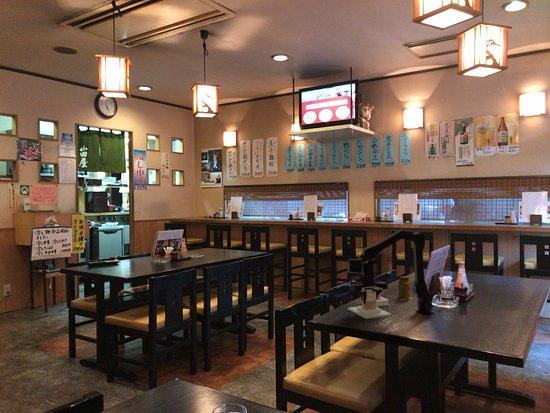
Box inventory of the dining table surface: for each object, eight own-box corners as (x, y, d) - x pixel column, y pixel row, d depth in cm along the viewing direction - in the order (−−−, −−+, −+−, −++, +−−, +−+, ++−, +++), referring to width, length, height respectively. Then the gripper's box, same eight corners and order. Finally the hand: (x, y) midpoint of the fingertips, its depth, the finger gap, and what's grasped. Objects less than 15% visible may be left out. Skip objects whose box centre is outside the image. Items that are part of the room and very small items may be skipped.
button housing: (388, 305, 230) (388, 299, 230) (371, 307, 227) (371, 301, 226) (378, 301, 239) (378, 295, 239) (362, 302, 236) (362, 297, 236)
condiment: (412, 298, 246) (412, 277, 245) (402, 300, 241) (402, 279, 241) (402, 296, 252) (402, 275, 251) (392, 298, 247) (392, 277, 247)
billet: (376, 308, 214) (375, 292, 214) (367, 309, 213) (367, 292, 213) (370, 305, 219) (370, 290, 219) (362, 306, 217) (361, 290, 217)
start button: (381, 301, 231) (381, 295, 231) (373, 302, 230) (373, 296, 230) (376, 299, 236) (376, 293, 236) (369, 300, 234) (369, 294, 234)
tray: (391, 316, 209) (391, 310, 209) (365, 318, 205) (365, 313, 205) (371, 307, 227) (371, 302, 226) (347, 309, 222) (347, 304, 222)
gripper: (376, 268, 226) (376, 298, 226) (344, 271, 220) (344, 301, 221) (388, 272, 215) (388, 303, 216) (355, 274, 210) (355, 306, 210)
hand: (369, 303), depth 216 cm, fingers closed on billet, 5 cm apart
